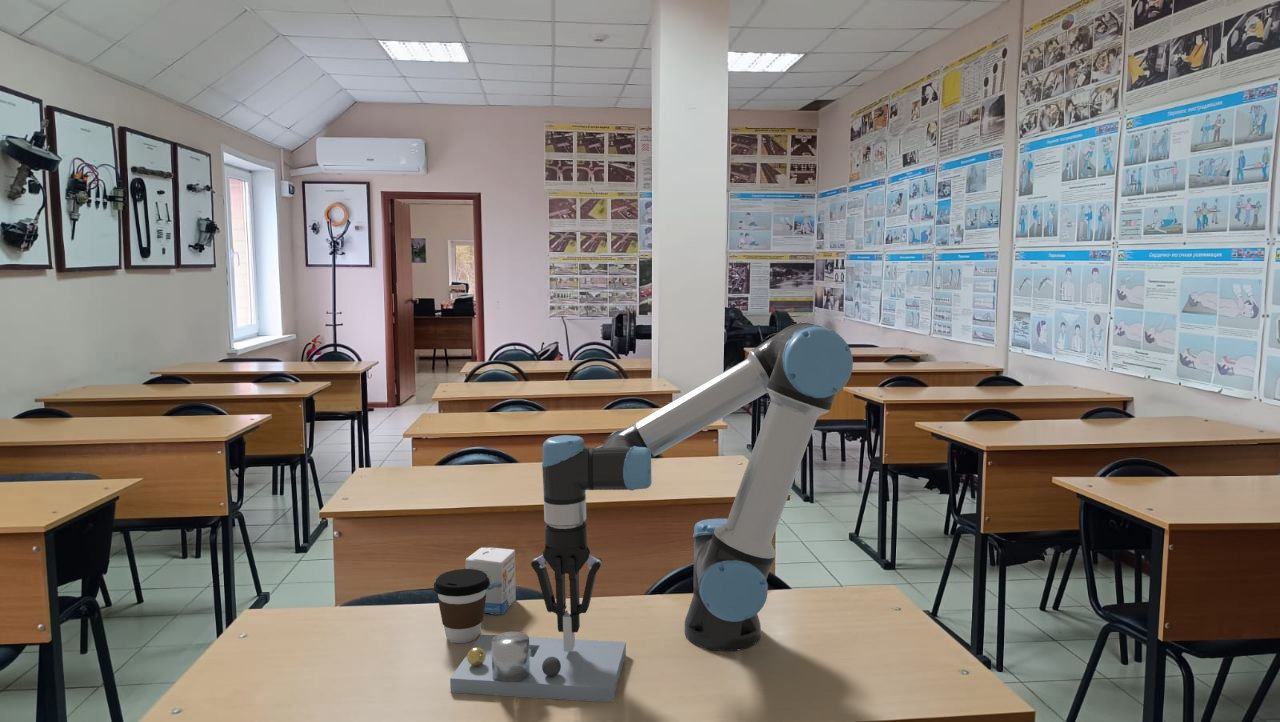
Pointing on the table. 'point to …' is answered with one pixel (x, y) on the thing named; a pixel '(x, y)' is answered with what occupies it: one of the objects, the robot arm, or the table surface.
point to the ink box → (496, 576)
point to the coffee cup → (462, 603)
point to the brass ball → (476, 656)
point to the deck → (579, 678)
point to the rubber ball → (551, 666)
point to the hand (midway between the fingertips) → (569, 647)
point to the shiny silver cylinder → (510, 656)
